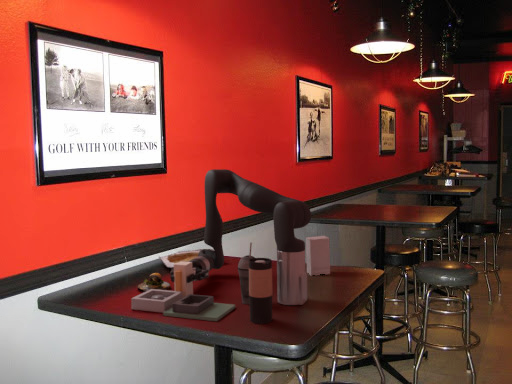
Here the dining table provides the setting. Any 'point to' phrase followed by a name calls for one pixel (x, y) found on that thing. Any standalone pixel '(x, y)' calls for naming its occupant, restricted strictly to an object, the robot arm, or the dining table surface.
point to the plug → (183, 278)
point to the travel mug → (260, 290)
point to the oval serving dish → (179, 257)
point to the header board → (199, 308)
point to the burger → (154, 283)
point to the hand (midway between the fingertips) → (180, 279)
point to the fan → (155, 300)
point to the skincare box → (318, 255)
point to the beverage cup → (244, 276)
